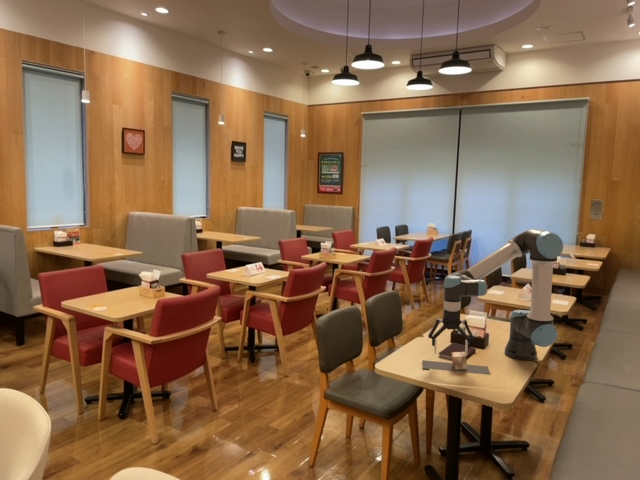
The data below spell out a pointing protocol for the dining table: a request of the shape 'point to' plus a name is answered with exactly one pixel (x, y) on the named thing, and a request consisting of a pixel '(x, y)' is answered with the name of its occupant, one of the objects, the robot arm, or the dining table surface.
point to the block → (459, 360)
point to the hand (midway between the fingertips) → (450, 354)
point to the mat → (449, 367)
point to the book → (456, 350)
